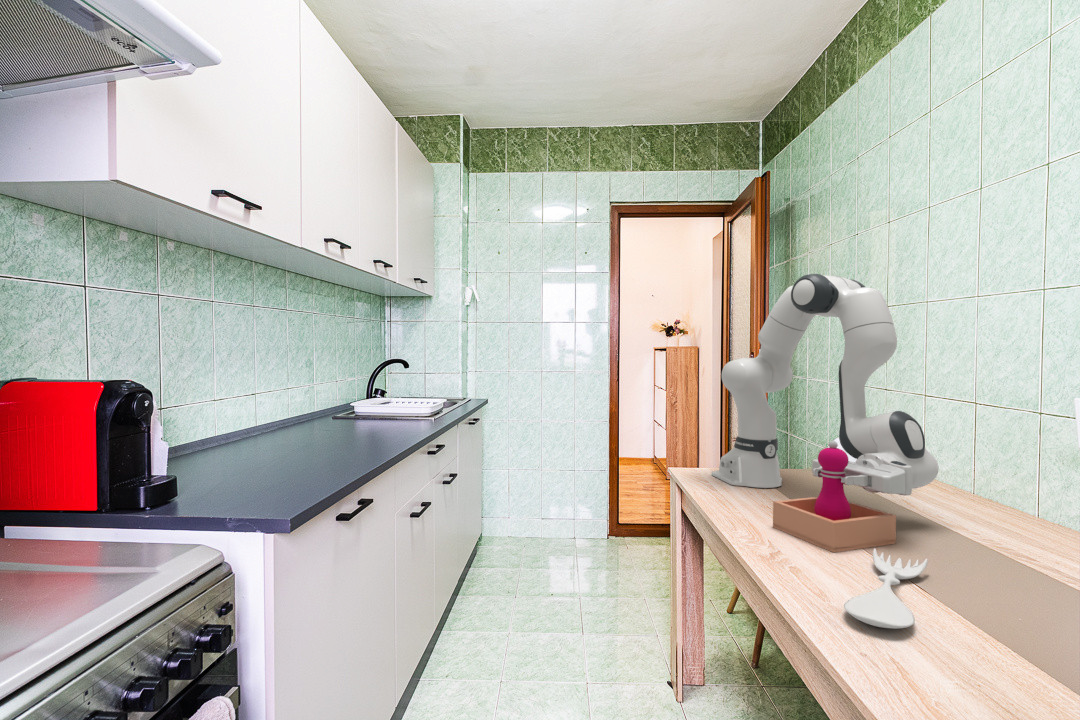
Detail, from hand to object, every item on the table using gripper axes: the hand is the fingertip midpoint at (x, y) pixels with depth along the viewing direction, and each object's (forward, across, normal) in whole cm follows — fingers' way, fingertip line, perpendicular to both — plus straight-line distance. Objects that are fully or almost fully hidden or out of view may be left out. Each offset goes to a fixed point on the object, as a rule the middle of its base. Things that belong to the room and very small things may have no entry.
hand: (829, 476), depth 120 cm
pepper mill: (-1, 0, +12) cm, 12 cm away
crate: (-1, 0, +13) cm, 13 cm away
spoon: (+16, +27, +14) cm, 34 cm away
